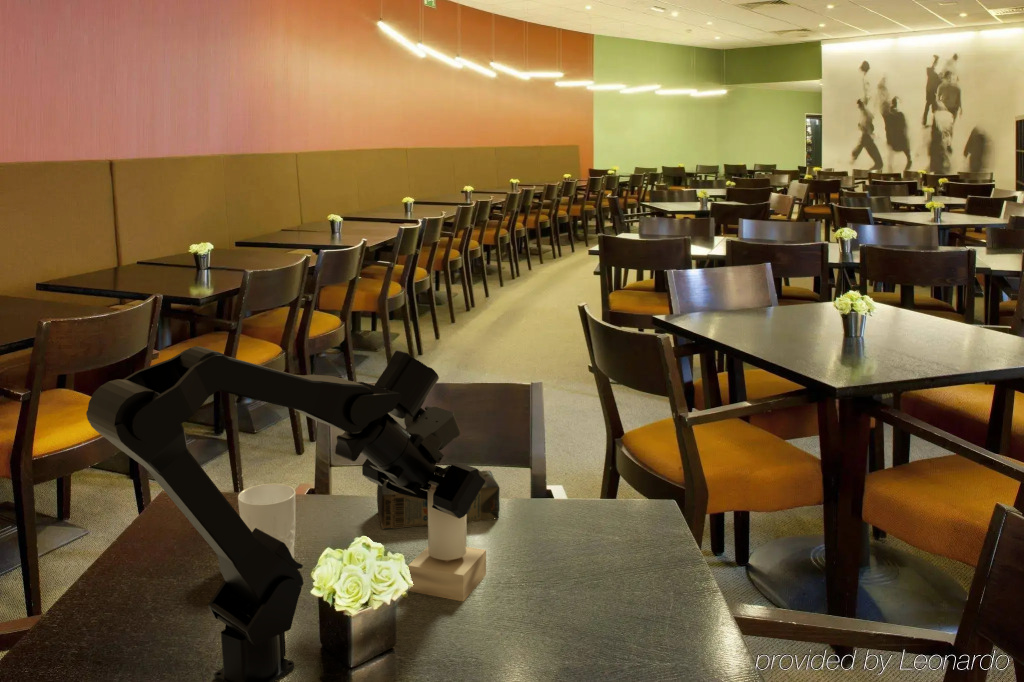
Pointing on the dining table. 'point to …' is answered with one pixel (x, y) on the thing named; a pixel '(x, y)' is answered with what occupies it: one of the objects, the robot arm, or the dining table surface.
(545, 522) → the dining table surface
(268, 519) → the white cup
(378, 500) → the beverage carton
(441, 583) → the maple block
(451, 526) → the jar
